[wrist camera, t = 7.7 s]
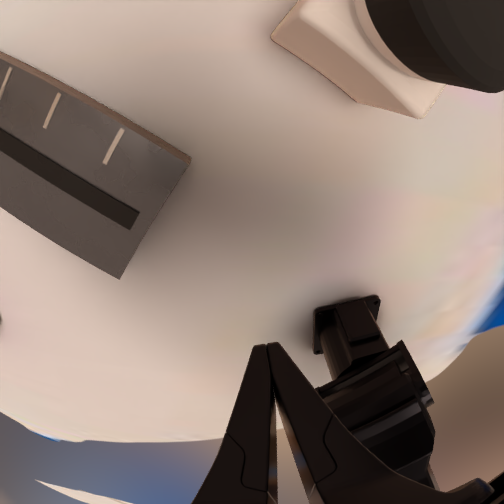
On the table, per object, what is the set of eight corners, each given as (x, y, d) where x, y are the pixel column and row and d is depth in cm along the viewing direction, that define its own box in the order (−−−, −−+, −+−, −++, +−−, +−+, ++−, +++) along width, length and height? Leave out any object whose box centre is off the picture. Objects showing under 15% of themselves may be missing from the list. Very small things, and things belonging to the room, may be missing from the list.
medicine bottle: (358, 104, 16) (503, 157, 6) (267, 38, 14) (348, -27, 4) (409, 35, 13) (555, 41, 3) (328, -32, 11) (442, -108, 1)
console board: (191, 158, 17) (188, 165, 16) (124, 266, 21) (119, 280, 20) (-19, 42, 9) (-33, 43, 8) (-51, 151, 13) (-64, 158, 11)
